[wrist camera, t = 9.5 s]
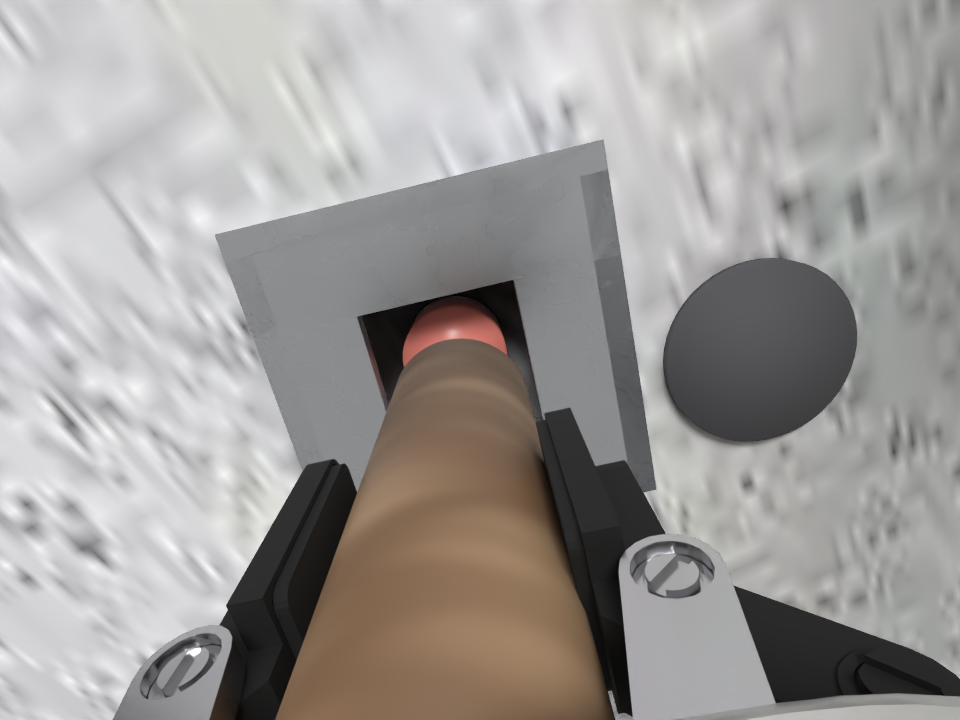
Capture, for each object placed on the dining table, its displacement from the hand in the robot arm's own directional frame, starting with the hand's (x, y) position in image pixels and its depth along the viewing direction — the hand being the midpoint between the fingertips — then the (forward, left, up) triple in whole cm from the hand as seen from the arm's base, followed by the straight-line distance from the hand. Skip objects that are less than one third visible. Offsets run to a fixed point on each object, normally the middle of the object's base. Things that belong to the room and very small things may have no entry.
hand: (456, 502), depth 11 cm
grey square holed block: (0, +1, -15) cm, 15 cm away
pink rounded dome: (0, +1, -14) cm, 14 cm away
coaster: (-14, +5, -15) cm, 21 cm away
